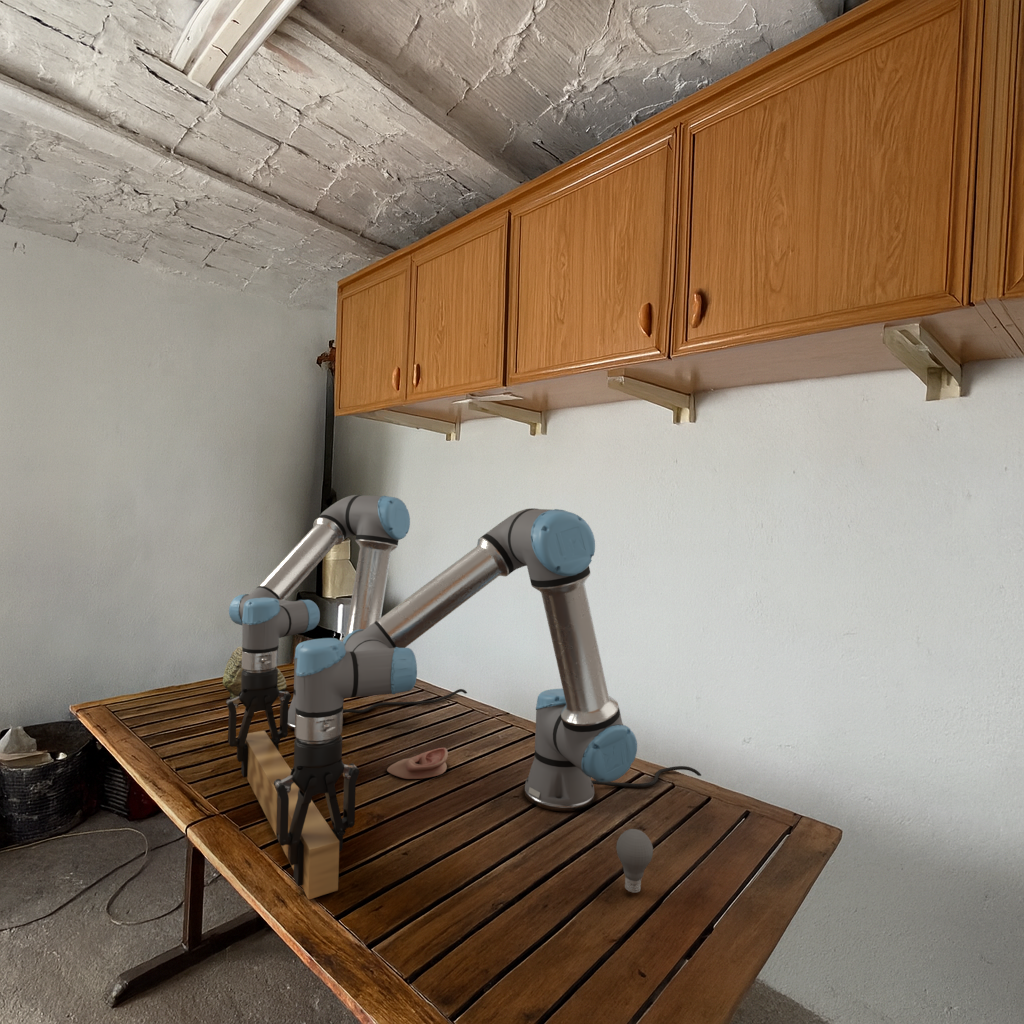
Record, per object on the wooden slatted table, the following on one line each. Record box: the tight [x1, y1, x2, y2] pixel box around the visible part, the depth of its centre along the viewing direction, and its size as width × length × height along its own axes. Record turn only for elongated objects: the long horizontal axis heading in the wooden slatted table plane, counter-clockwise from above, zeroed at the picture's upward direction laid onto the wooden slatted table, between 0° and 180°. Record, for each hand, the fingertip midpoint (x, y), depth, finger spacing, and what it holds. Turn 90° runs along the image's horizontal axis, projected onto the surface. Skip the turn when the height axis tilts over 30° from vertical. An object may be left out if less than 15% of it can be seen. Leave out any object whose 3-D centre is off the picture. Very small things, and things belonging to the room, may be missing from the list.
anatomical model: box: [386, 747, 449, 780], centre depth 149 cm, size 13×4×12 cm
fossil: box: [222, 646, 288, 699], centre depth 198 cm, size 9×18×15 cm, turn 132°
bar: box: [245, 730, 340, 900], centre depth 123 cm, size 54×5×8 cm, turn 33°
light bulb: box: [615, 828, 654, 894], centre depth 106 cm, size 6×6×10 cm
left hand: (257, 771), depth 141 cm, fingers closed on bar, 5 cm apart
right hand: (315, 875), depth 104 cm, fingers closed on bar, 5 cm apart
